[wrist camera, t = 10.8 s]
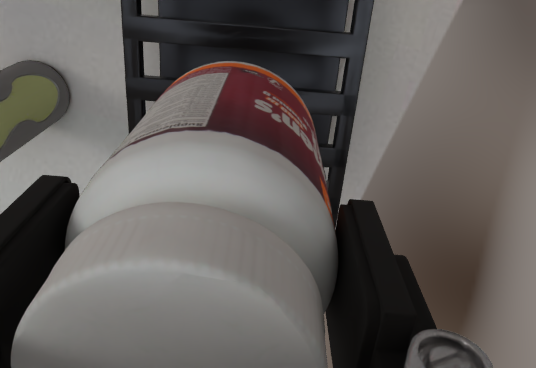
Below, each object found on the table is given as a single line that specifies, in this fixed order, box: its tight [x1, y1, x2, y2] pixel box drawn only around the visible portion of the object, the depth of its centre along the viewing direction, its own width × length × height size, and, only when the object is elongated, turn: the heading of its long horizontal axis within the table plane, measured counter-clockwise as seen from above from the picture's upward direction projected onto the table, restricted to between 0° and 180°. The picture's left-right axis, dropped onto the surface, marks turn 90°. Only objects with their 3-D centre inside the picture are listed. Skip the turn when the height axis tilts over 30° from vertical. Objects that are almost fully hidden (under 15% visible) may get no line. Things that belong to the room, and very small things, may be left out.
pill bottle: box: [11, 61, 338, 368], centre depth 12 cm, size 6×6×11 cm
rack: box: [121, 0, 374, 227], centre depth 29 cm, size 12×16×11 cm
